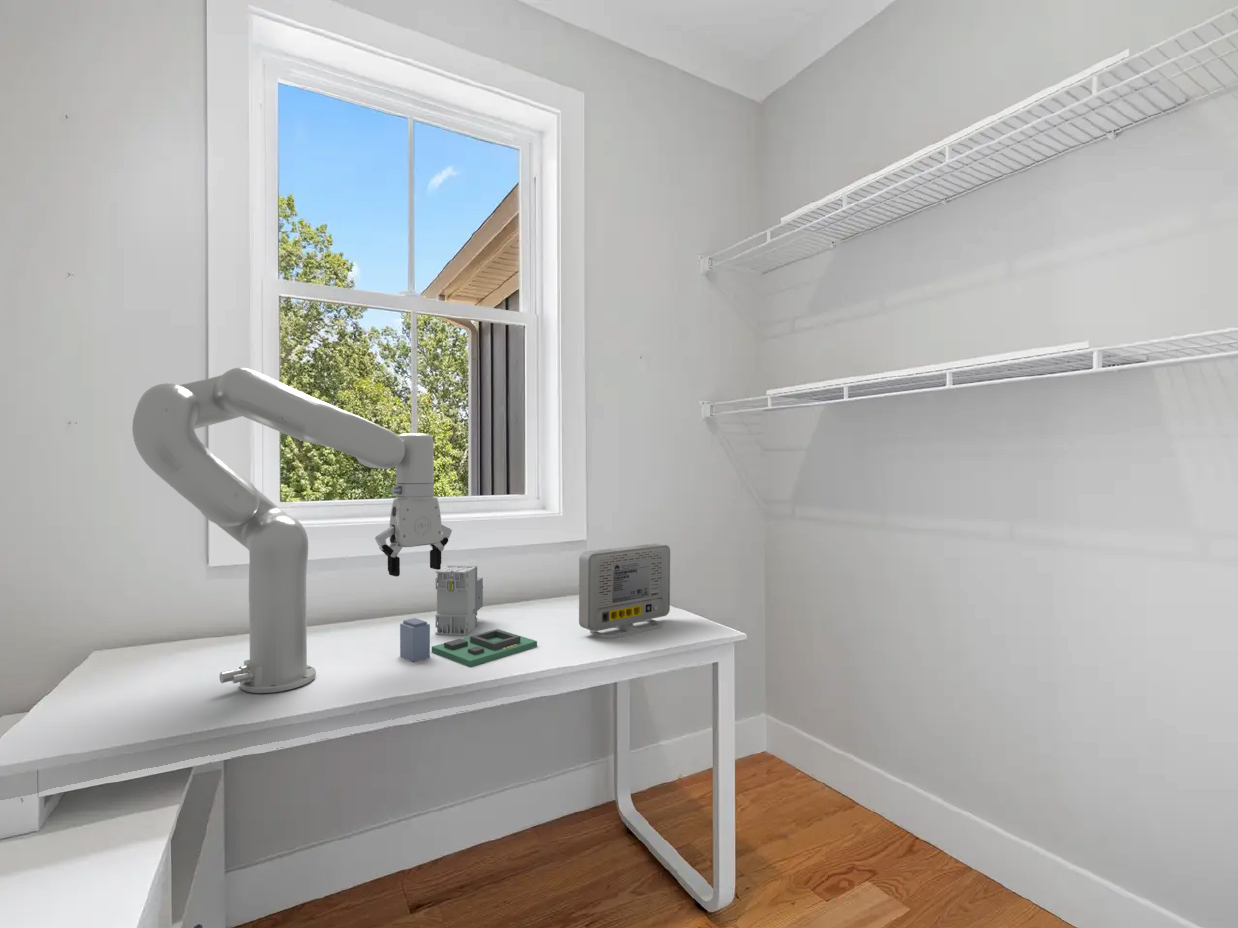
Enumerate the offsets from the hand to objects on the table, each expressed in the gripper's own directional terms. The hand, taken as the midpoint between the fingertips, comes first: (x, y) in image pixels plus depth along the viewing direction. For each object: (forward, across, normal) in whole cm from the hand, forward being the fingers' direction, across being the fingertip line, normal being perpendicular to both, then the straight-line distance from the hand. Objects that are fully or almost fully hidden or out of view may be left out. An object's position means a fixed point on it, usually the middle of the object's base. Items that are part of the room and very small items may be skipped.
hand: (415, 572), depth 134 cm
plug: (+18, 0, 0) cm, 18 cm away
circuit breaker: (+18, +20, +12) cm, 30 cm away
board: (+18, +13, -7) cm, 23 cm away
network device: (+18, +46, -20) cm, 53 cm away
